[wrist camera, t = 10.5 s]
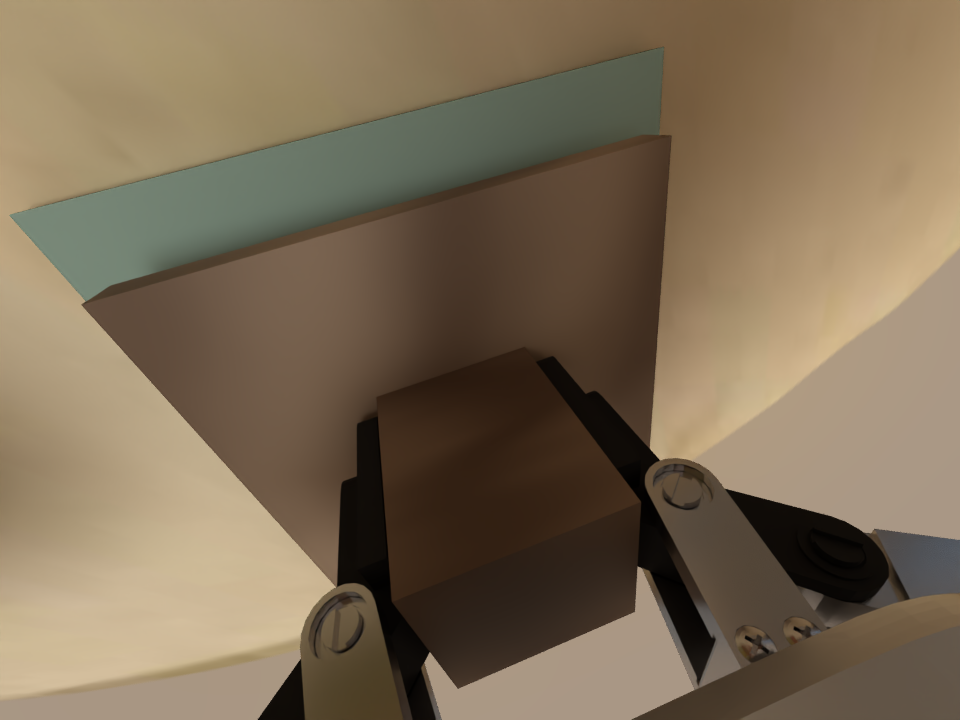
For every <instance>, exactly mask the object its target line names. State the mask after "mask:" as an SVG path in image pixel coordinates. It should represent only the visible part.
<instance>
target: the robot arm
mask: <svg viewBox="0 0 960 720" xmlns="http://www.w3.org/2000/svg"><path fill="white" fill-rule="evenodd" d="M536 363H537V364H538V366H539V367H540V368H541V370H542V371H543V372H544V374H545V375H546V376H547V378H548V379H549V380H550V382H551V383H552V384H553V386H554V387H555V388H556V390H557V391H558V392H559V394H560V395H561V396H562V398H563V399H564V400H565V402H566V403H567V404H568V405H569V407H570V408H571V409H572V411H573V412H574V413H575V415H576V416H577V417H578V419H579V420H580V421H581V423H582V424H583V425H584V427H585V428H586V429H587V431H588V432H589V433H590V435H591V436H592V437H593V439H594V440H595V441H596V443H597V444H598V445H599V447H600V448H601V449H602V451H603V452H604V453H605V455H606V456H607V457H608V459H609V460H610V461H611V463H612V464H613V465H614V467H615V468H616V469H617V471H618V472H619V473H620V475H621V476H622V477H623V479H624V480H625V481H626V482H627V484H628V485H629V486H630V488H631V489H632V490H633V492H634V493H635V494H636V496H637V497H638V498H639V500H640V501H641V513H640V530H639V547H638V565H637V566H638V567H641V568H642V569H643V571H644V574H645V576H646V579H647V581H648V583H649V585H650V588H651V590H652V592H653V595H654V597H655V599H656V602H657V604H658V606H659V609H660V611H661V613H662V616H663V618H664V620H665V622H666V625H667V627H668V629H669V632H670V634H671V636H672V639H673V641H674V643H675V646H676V648H677V650H678V653H679V655H680V657H681V659H682V662H683V664H684V666H685V669H686V671H687V673H688V676H689V678H690V680H691V683H692V685H693V687H694V689H695V690H694V691H692V692H690V693H688V694H686V695H683V696H681V697H679V698H677V699H674V700H672V701H670V702H668V703H666V704H664V705H662V706H660V707H657V708H655V709H653V710H651V711H649V712H647V713H645V714H643V715H640V716H638V717H636V718H634V719H632V720H960V540H955V539H948V538H940V537H933V536H925V535H917V534H909V533H902V532H895V531H887V530H879V529H874V530H873V532H872V533H863V532H862V531H861V530H859V529H857V528H856V527H854V526H852V525H850V524H849V523H847V522H845V521H842V520H839V519H837V518H834V517H831V516H828V515H824V514H820V513H816V512H812V511H809V510H805V509H801V508H797V507H793V506H789V505H785V504H782V503H778V502H774V501H770V500H766V499H762V498H759V497H754V496H751V495H747V494H743V493H739V492H735V491H732V490H728V489H724V487H723V486H722V484H721V483H720V482H719V480H718V479H717V478H716V477H715V476H714V475H713V474H712V473H711V472H710V471H709V470H708V469H706V468H705V467H703V466H701V465H700V464H697V463H695V462H692V461H690V460H686V459H679V458H671V459H664V460H661V461H660V460H659V459H658V457H657V456H656V455H655V454H654V453H653V452H652V451H651V450H650V449H649V447H648V446H647V445H646V444H645V443H644V442H643V441H642V440H641V439H640V437H639V436H638V435H637V434H636V433H635V432H634V431H633V430H632V429H631V427H630V426H629V425H628V424H627V423H626V422H625V421H624V420H623V419H622V417H621V416H620V415H619V414H618V413H617V412H616V411H615V410H614V409H613V407H612V406H611V405H610V404H609V403H608V402H607V401H606V400H605V399H604V398H603V396H602V395H601V394H600V393H598V392H597V391H592V392H589V393H585V392H584V391H583V390H582V389H581V388H580V386H579V385H578V384H577V383H576V382H575V381H574V379H573V378H572V377H571V376H570V375H569V373H568V372H567V371H566V370H565V369H564V368H563V366H562V365H561V364H560V363H559V362H558V360H557V359H556V358H555V357H554V356H551V357H548V358H545V359H542V360H539V361H536ZM300 652H301V659H300V661H299V662H298V664H297V665H296V666H295V668H294V669H293V671H292V672H291V674H290V675H289V677H288V678H287V679H286V680H285V682H284V683H283V685H282V686H281V688H280V689H279V690H278V692H277V693H276V695H275V696H274V697H273V699H272V700H271V702H270V703H269V705H268V706H267V707H266V709H265V710H264V711H263V713H262V715H261V716H260V717H259V719H258V720H442V719H441V716H440V712H439V709H438V706H437V703H436V699H435V696H434V693H433V689H432V686H431V683H430V680H429V676H428V673H427V670H426V666H425V663H424V662H425V660H426V658H427V656H428V654H429V652H430V651H429V650H428V649H427V647H426V646H425V645H424V643H423V642H422V641H421V639H420V638H419V637H418V636H417V634H416V633H415V632H414V630H413V629H412V628H411V626H410V625H409V624H408V622H407V621H406V620H405V618H404V617H403V616H402V614H401V613H400V612H399V611H398V609H397V608H396V607H395V605H394V604H393V603H392V597H391V583H390V570H389V557H388V544H387V531H386V517H385V504H384V491H383V478H382V465H381V451H380V438H379V425H378V416H377V417H374V418H371V419H368V420H365V421H362V422H360V423H358V424H357V476H356V477H353V478H350V479H348V480H345V481H343V482H342V484H341V493H340V519H339V544H338V570H337V587H336V588H334V589H332V590H331V591H330V592H328V593H327V594H326V595H324V596H323V597H322V598H321V599H320V600H319V601H318V603H317V604H316V605H315V606H314V607H313V609H312V610H311V612H310V614H309V615H308V617H307V619H306V621H305V624H304V627H303V630H302V633H301V643H300Z"/></svg>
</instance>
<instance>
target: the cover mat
mask: <svg viewBox="0 0 960 720" xmlns="http://www.w3.org/2000/svg"><path fill="white" fill-rule="evenodd" d="M663 56H664V47H661V48H656V49H652V50H648V51H644V52H641V53H637V54H633V55H629V56H625V57H621V58H617V59H613V60H609V61H606V62H602V63H598V64H594V65H590V66H586V67H582V68H578V69H574V70H570V71H567V72H563V73H559V74H555V75H551V76H547V77H543V78H539V79H535V80H532V81H528V82H524V83H520V84H516V85H512V86H508V87H504V88H500V89H497V90H493V91H489V92H485V93H481V94H477V95H473V96H469V97H465V98H462V99H458V100H454V101H450V102H446V103H442V104H438V105H434V106H430V107H427V108H423V109H419V110H415V111H411V112H407V113H403V114H399V115H395V116H392V117H388V118H384V119H380V120H376V121H372V122H368V123H364V124H360V125H356V126H353V127H349V128H345V129H341V130H337V131H333V132H329V133H325V134H321V135H318V136H314V137H310V138H306V139H302V140H298V141H294V142H290V143H286V144H283V145H279V146H275V147H271V148H267V149H263V150H259V151H255V152H251V153H248V154H244V155H240V156H236V157H232V158H228V159H224V160H220V161H216V162H213V163H209V164H205V165H201V166H197V167H193V168H189V169H185V170H181V171H177V172H174V173H170V174H166V175H162V176H158V177H154V178H150V179H146V180H142V181H139V182H135V183H131V184H127V185H123V186H119V187H115V188H111V189H107V190H104V191H100V192H96V193H92V194H88V195H84V196H80V197H76V198H72V199H69V200H65V201H61V202H57V203H53V204H49V205H45V206H41V207H37V208H34V209H30V210H26V211H22V212H18V213H15V214H11V215H10V217H11V218H12V219H13V220H14V221H15V222H16V223H17V224H18V226H19V227H20V228H21V229H22V230H23V231H24V232H25V233H26V235H27V236H28V237H29V238H30V239H31V240H32V241H33V242H34V244H35V245H36V246H37V247H38V248H39V249H40V250H41V251H42V253H43V254H44V255H45V256H46V257H47V258H48V259H49V260H50V262H51V263H52V264H53V265H54V266H55V267H56V268H57V269H58V270H59V272H60V273H61V274H62V275H63V276H64V277H65V278H66V279H67V281H68V282H69V283H70V284H71V285H72V286H73V287H74V288H75V290H76V291H77V292H78V293H79V294H80V295H81V296H82V297H83V299H84V300H85V301H88V300H89V299H91V298H92V297H94V296H95V295H97V294H98V293H100V292H101V291H103V290H104V289H106V288H107V287H109V286H110V285H114V284H117V283H121V282H124V281H128V280H131V279H135V278H139V277H142V276H146V275H149V274H153V273H156V272H160V271H163V270H167V269H170V268H174V267H177V266H181V265H184V264H188V263H191V262H195V261H198V260H202V259H206V258H209V257H213V256H216V255H220V254H223V253H227V252H230V251H234V250H237V249H241V248H244V247H248V246H251V245H255V244H258V243H262V242H266V241H269V240H273V239H276V238H280V237H283V236H287V235H290V234H294V233H297V232H301V231H304V230H308V229H311V228H315V227H318V226H322V225H325V224H329V223H333V222H336V221H340V220H343V219H347V218H350V217H354V216H357V215H361V214H364V213H368V212H371V211H375V210H378V209H382V208H385V207H389V206H393V205H396V204H400V203H403V202H407V201H410V200H414V199H417V198H421V197H424V196H428V195H431V194H435V193H438V192H442V191H445V190H449V189H452V188H456V187H460V186H463V185H467V184H470V183H474V182H477V181H481V180H484V179H488V178H491V177H495V176H498V175H502V174H505V173H509V172H512V171H516V170H520V169H523V168H527V167H530V166H534V165H537V164H541V163H544V162H548V161H551V160H555V159H558V158H562V157H565V156H569V155H572V154H576V153H579V152H583V151H587V150H590V149H594V148H597V147H601V146H604V145H608V144H611V143H615V142H618V141H622V140H625V139H629V138H632V137H636V136H639V135H659V130H660V112H661V93H662V75H663Z"/></svg>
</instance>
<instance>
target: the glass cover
mask: <svg viewBox="0 0 960 720" xmlns="http://www.w3.org/2000/svg"><path fill="white" fill-rule="evenodd" d="M670 150H671V136H666V135H639V136H636V137H632V138H629V139H625V140H622V141H618V142H615V143H611V144H608V145H604V146H601V147H597V148H594V149H590V150H587V151H583V152H579V153H576V154H572V155H569V156H565V157H562V158H558V159H555V160H551V161H548V162H544V163H541V164H537V165H534V166H530V167H527V168H523V169H520V170H516V171H512V172H509V173H505V174H502V175H498V176H495V177H491V178H488V179H484V180H481V181H477V182H474V183H470V184H467V185H463V186H460V187H456V188H452V189H449V190H445V191H442V192H438V193H435V194H431V195H428V196H424V197H421V198H417V199H414V200H410V201H407V202H403V203H400V204H396V205H393V206H389V207H385V208H382V209H378V210H375V211H371V212H368V213H364V214H361V215H357V216H354V217H350V218H347V219H343V220H340V221H336V222H333V223H329V224H325V225H322V226H318V227H315V228H311V229H308V230H304V231H301V232H297V233H294V234H290V235H287V236H283V237H280V238H276V239H273V240H269V241H266V242H262V243H258V244H255V245H251V246H248V247H244V248H241V249H237V250H234V251H230V252H227V253H223V254H220V255H216V256H213V257H209V258H206V259H202V260H198V261H195V262H191V263H188V264H184V265H181V266H177V267H174V268H170V269H167V270H163V271H160V272H156V273H153V274H149V275H146V276H142V277H139V278H135V279H131V280H128V281H124V282H121V283H117V284H114V285H110V286H109V287H107V288H106V289H104V290H103V291H101V292H100V293H98V294H97V295H95V296H94V297H92V298H91V299H89V300H88V301H86V302H85V303H83V304H82V306H83V307H84V308H85V309H86V310H87V312H88V313H89V314H90V315H91V316H92V317H93V318H94V319H95V320H96V321H97V323H98V324H99V325H100V326H101V327H102V328H103V329H104V330H105V331H106V333H107V334H108V335H109V336H110V337H111V338H112V339H113V340H114V341H115V343H116V344H117V345H118V346H119V347H120V348H121V349H122V350H123V351H124V353H125V354H126V355H127V356H128V357H129V358H130V359H131V360H132V361H133V362H134V364H135V365H136V366H137V367H138V368H139V369H140V370H141V371H142V372H143V374H144V375H145V376H146V377H147V378H148V379H149V380H150V381H151V382H152V384H153V385H154V386H155V387H156V388H157V389H158V390H159V391H160V392H161V394H162V395H163V396H164V397H165V398H166V399H167V400H168V401H169V402H170V403H171V405H172V406H173V407H174V408H175V409H176V410H177V411H178V412H179V413H180V415H181V416H182V417H183V418H184V419H185V420H186V421H187V422H188V423H189V425H190V426H191V427H192V428H193V429H194V430H195V431H196V432H197V433H198V435H199V436H200V437H201V438H202V439H203V440H204V441H205V442H206V443H207V444H208V446H209V447H210V448H211V449H212V450H213V451H214V452H215V453H216V454H217V456H218V457H219V458H220V459H221V460H222V461H223V462H224V463H225V464H226V466H227V467H228V468H229V469H230V470H231V471H232V472H233V473H234V474H235V475H236V477H237V478H238V479H239V480H240V481H241V482H242V483H243V484H244V485H245V487H246V488H247V489H248V490H249V491H250V492H251V493H252V494H253V495H254V497H255V498H256V499H257V500H258V501H259V502H260V503H261V504H262V505H263V507H264V508H265V509H266V510H267V511H268V512H269V513H270V514H271V515H272V516H273V518H274V519H275V520H276V521H277V522H278V523H279V524H280V525H281V526H282V528H283V529H284V530H285V531H286V532H287V533H288V534H289V535H290V536H291V538H292V539H293V540H294V541H295V542H296V543H297V544H298V545H299V546H300V548H301V549H302V550H303V551H304V552H305V553H306V554H307V555H308V556H309V557H310V559H311V560H312V561H313V562H314V563H315V564H316V565H317V566H318V567H319V569H320V570H321V571H322V572H323V573H324V574H325V575H326V576H327V577H328V579H329V580H330V581H331V582H332V583H333V584H334V585H335V586H336V587H337V570H338V544H339V519H340V493H341V484H342V482H343V481H345V480H348V479H350V478H353V477H356V476H357V424H358V423H360V422H362V421H365V420H368V419H371V418H374V417H377V416H378V425H379V438H380V451H381V465H382V478H383V491H384V504H385V517H386V531H387V544H388V557H389V570H390V583H391V597H392V603H393V604H394V605H395V607H396V608H397V609H398V611H399V612H400V613H401V614H402V616H403V617H404V618H405V620H406V621H407V622H408V624H409V625H410V626H411V628H412V629H413V630H414V632H415V633H416V634H417V636H418V637H419V638H420V639H421V641H422V642H423V643H424V645H425V646H426V647H427V649H428V650H429V651H430V653H431V654H432V655H433V656H434V658H435V659H436V660H437V662H438V663H439V664H440V666H441V667H442V668H443V670H444V671H445V672H446V674H447V675H448V676H449V678H450V679H451V680H452V682H453V683H454V684H455V685H456V687H457V688H458V689H459V688H461V687H463V686H465V685H468V684H470V683H472V682H475V681H477V680H479V679H482V678H483V677H486V676H488V675H491V674H493V673H495V672H498V671H500V670H502V669H504V668H507V667H509V666H511V665H513V664H516V663H518V662H521V661H523V660H525V659H527V658H529V657H532V656H534V655H537V654H539V653H541V652H544V651H546V650H548V649H550V648H553V647H555V646H557V645H560V644H562V643H564V642H567V641H569V640H571V639H573V638H576V637H578V636H580V635H583V634H585V633H587V632H589V631H592V630H594V629H596V628H599V627H601V626H603V625H605V624H608V623H610V622H612V621H614V620H617V619H619V618H621V617H624V616H626V615H628V614H631V613H633V612H635V599H636V581H637V565H638V547H639V530H640V513H641V501H640V500H639V498H638V497H637V496H636V494H635V493H634V492H633V490H632V489H631V488H630V486H629V485H628V484H627V482H626V481H625V480H624V479H623V477H622V476H621V475H620V473H619V472H618V471H617V469H616V468H615V467H614V465H613V464H612V463H611V461H610V460H609V459H608V457H607V456H606V455H605V453H604V452H603V451H602V449H601V448H600V447H599V445H598V444H597V443H596V441H595V440H594V439H593V437H592V436H591V435H590V433H589V432H588V431H587V429H586V428H585V427H584V425H583V424H582V423H581V421H580V420H579V419H578V417H577V416H576V415H575V413H574V412H573V411H572V409H571V408H570V407H569V405H568V404H567V403H566V402H565V400H564V399H563V398H562V396H561V395H560V394H559V392H558V391H557V390H556V388H555V387H554V386H553V384H552V383H551V382H550V380H549V379H548V378H547V376H546V375H545V374H544V372H543V371H542V370H541V368H540V367H539V366H538V364H537V363H536V361H539V360H542V359H545V358H548V357H551V356H554V357H555V358H556V359H557V360H558V362H559V363H560V364H561V365H562V366H563V368H564V369H565V370H566V371H567V372H568V373H569V375H570V376H571V377H572V378H573V379H574V381H575V382H576V383H577V384H578V385H579V386H580V388H581V389H582V390H583V391H584V392H585V393H589V392H592V391H597V392H598V393H600V394H601V395H602V396H603V398H604V399H605V400H606V401H607V402H608V403H609V404H610V405H611V406H612V407H613V409H614V410H615V411H616V412H617V413H618V414H619V415H620V416H621V417H622V419H623V420H624V421H625V422H626V423H627V424H628V425H629V426H630V427H631V429H632V430H633V431H634V432H635V433H636V434H637V435H638V436H639V437H640V439H641V440H642V441H643V442H644V443H645V444H646V445H647V446H648V447H649V449H650V436H651V422H652V408H653V393H654V379H655V365H656V351H657V336H658V322H659V308H660V293H661V279H662V265H663V250H664V236H665V222H666V207H667V193H668V179H669V164H670Z"/></svg>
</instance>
